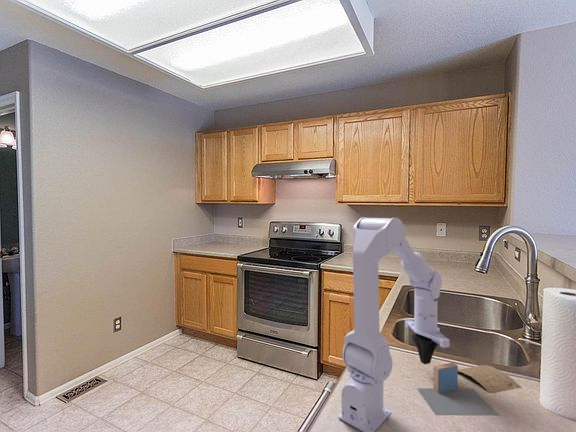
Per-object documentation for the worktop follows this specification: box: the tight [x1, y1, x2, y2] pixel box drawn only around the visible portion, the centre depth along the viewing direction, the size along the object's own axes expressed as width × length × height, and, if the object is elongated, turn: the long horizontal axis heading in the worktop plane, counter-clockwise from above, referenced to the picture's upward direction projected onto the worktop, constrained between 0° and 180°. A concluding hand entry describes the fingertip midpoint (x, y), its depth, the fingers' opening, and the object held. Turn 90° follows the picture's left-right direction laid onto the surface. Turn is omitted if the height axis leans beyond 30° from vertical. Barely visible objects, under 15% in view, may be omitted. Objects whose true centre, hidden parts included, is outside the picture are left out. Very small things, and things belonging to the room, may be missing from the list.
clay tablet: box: [458, 364, 522, 394], centre depth 82 cm, size 14×10×3 cm
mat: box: [416, 387, 500, 416], centre depth 72 cm, size 14×10×1 cm
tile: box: [433, 362, 459, 393], centre depth 77 cm, size 6×2×6 cm, turn 106°
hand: (425, 362), depth 83 cm, fingers closed
